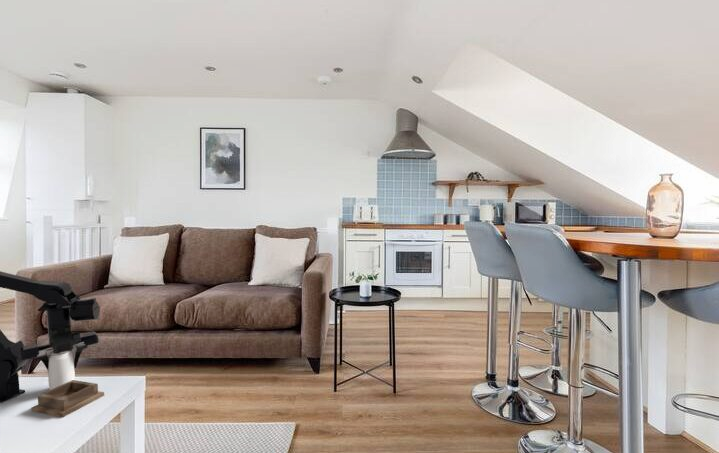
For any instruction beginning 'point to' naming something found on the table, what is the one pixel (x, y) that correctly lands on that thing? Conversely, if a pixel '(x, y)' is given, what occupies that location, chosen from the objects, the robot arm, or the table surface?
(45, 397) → the socket
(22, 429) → the table surface
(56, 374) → the can
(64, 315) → the robot arm
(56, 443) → the table surface
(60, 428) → the table surface
